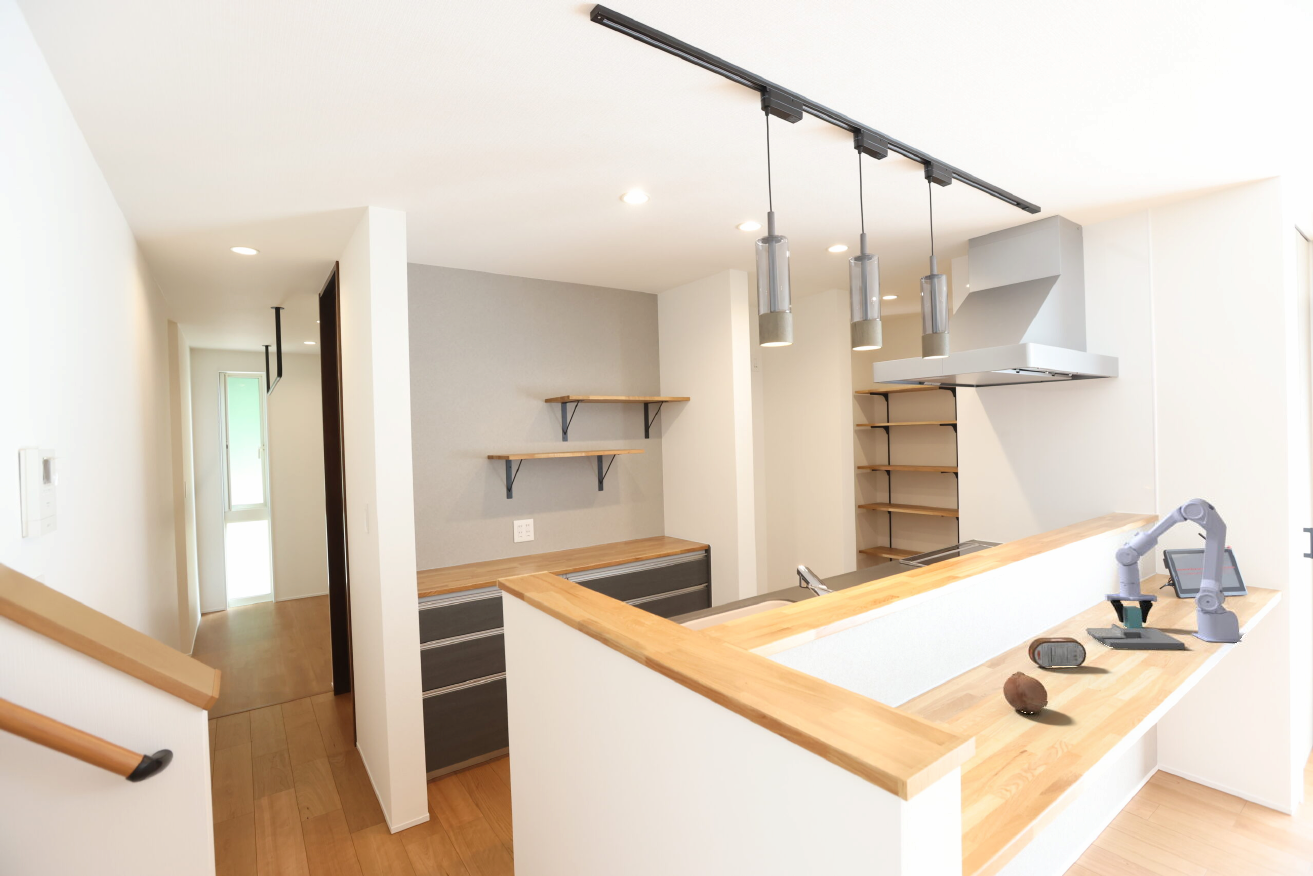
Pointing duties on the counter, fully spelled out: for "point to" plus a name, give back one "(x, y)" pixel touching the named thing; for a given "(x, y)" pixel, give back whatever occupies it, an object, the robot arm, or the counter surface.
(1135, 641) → the socket plate
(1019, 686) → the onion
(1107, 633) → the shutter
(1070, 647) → the tin
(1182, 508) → the robot arm
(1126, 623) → the plug
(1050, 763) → the counter surface
